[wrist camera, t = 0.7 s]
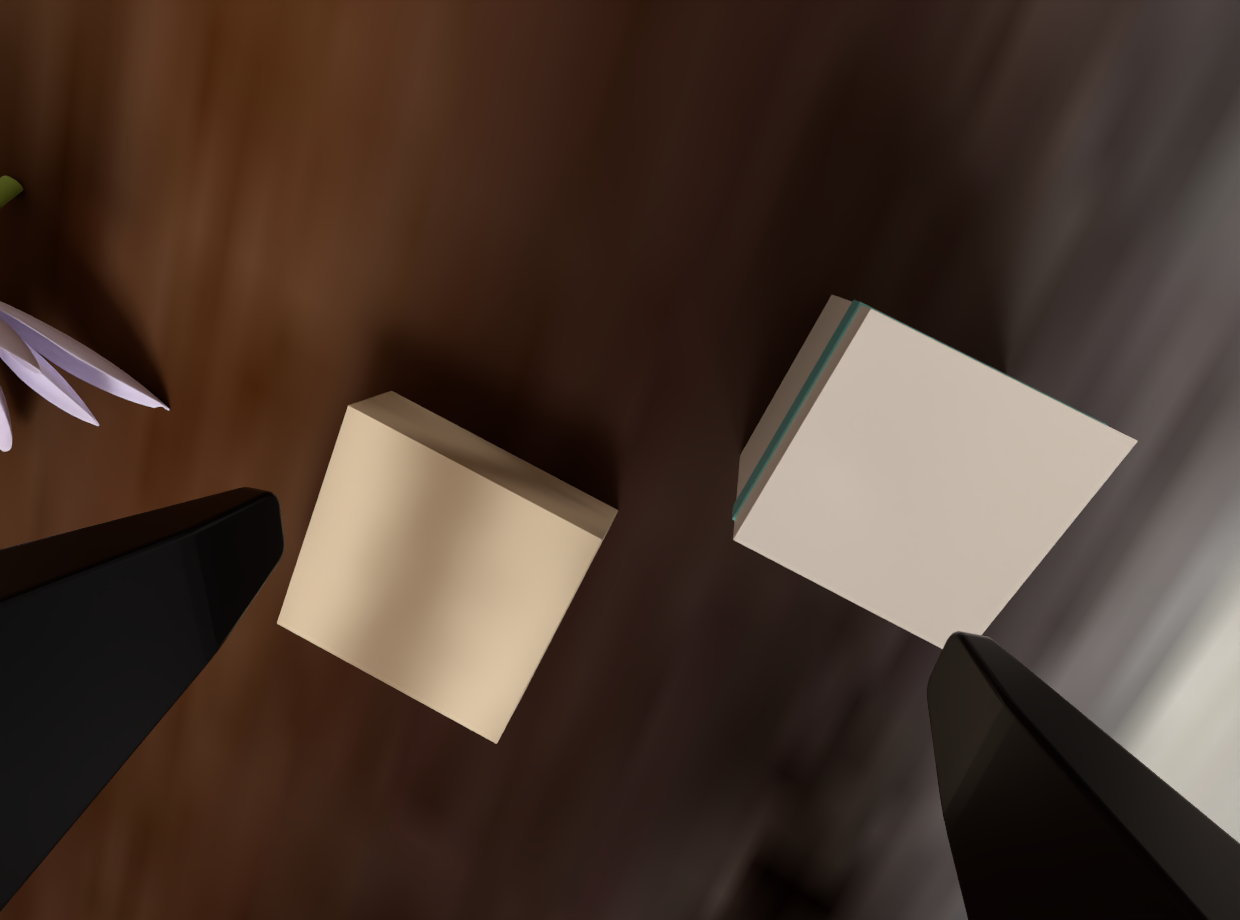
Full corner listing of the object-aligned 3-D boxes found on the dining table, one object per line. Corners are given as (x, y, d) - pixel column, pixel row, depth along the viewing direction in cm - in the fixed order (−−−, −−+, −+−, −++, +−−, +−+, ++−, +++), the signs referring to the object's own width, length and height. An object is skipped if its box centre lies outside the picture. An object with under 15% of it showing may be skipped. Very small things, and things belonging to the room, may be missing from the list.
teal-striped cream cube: (1008, 380, 19) (1141, 439, 12) (897, 537, 21) (962, 661, 14) (831, 292, 19) (870, 304, 13) (738, 455, 21) (730, 540, 15)
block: (620, 506, 23) (602, 539, 20) (524, 691, 26) (496, 743, 23) (397, 388, 23) (348, 405, 20) (328, 585, 26) (276, 623, 23)
